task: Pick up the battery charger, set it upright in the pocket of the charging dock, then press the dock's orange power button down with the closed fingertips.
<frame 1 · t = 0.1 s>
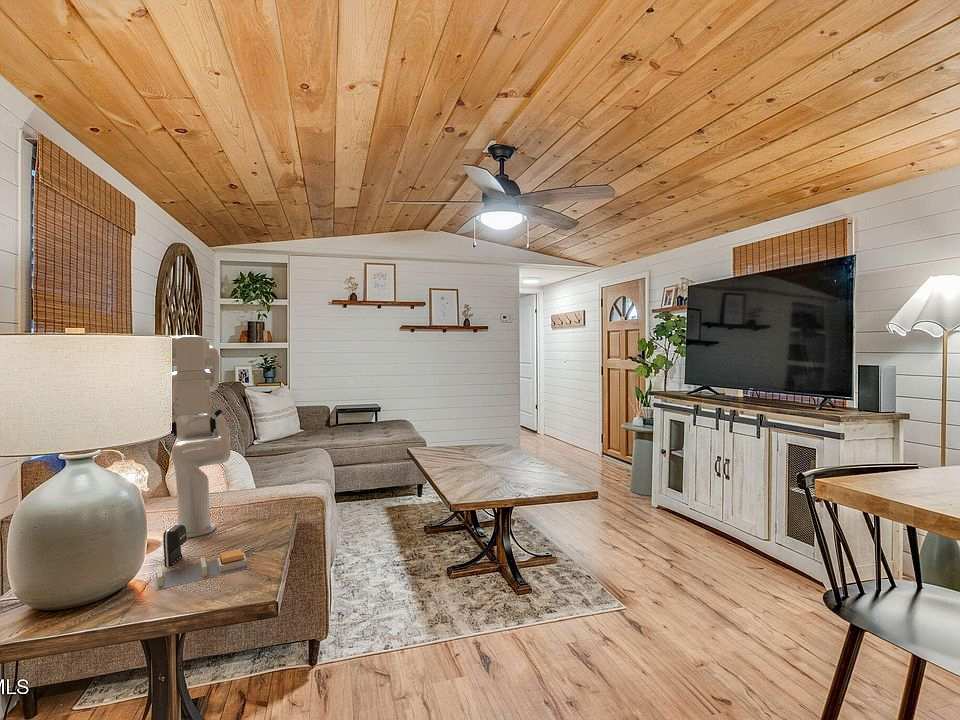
hand: (193, 433, 153), 37 cm above the table, tool pointing down, fingers open, 9 cm apart
charging dock: (203, 576, 139), on the table
battery charger: (177, 567, 146), on the table
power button: (231, 555, 142), point 4 cm above the table, slide at 0.0 cm
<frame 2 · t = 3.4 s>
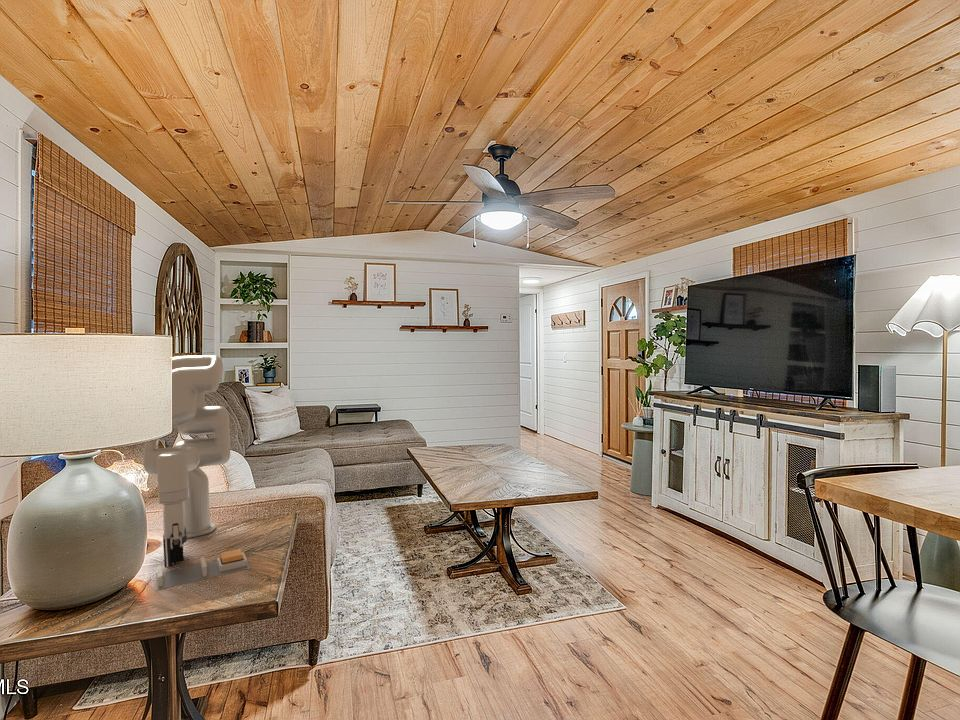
hand: (176, 556, 146), 3 cm above the table, tool pointing down, fingers closed on battery charger, 7 cm apart
battery charger: (177, 567, 146), on the table, touching gripper
everything else where it was.
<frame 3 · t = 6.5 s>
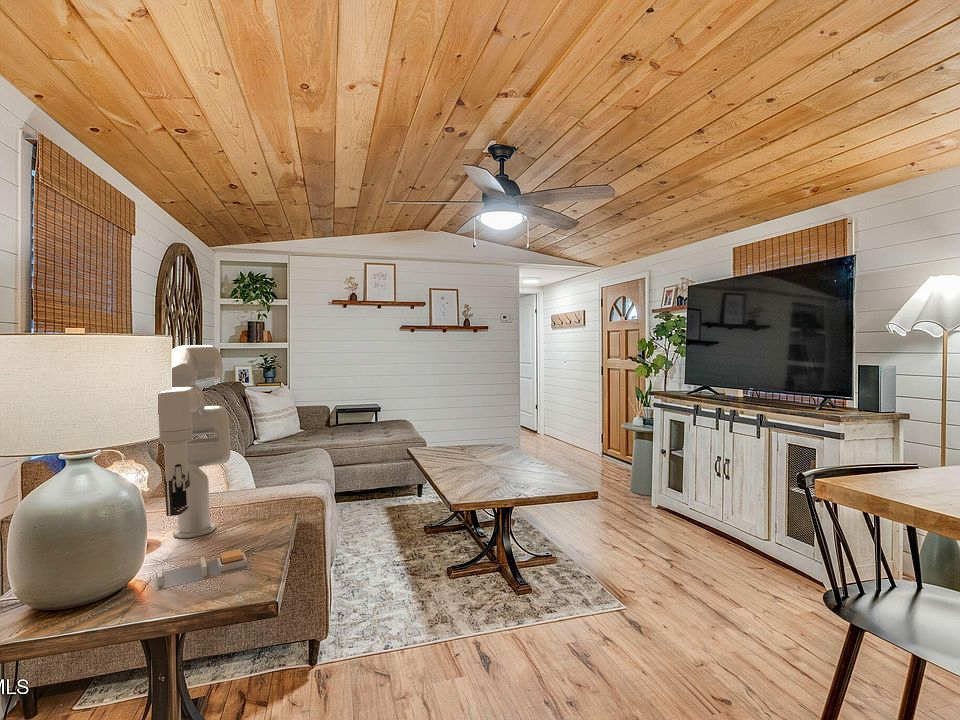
hand: (179, 502, 136), 21 cm above the table, tool pointing down, fingers closed on battery charger, 7 cm apart
battery charger: (179, 513, 135), point 18 cm above the table, touching gripper
everything else where it was.
when the fingers open (6 cm above the table, at t = 9.7 s): battery charger drops 2 cm, resting on charging dock.
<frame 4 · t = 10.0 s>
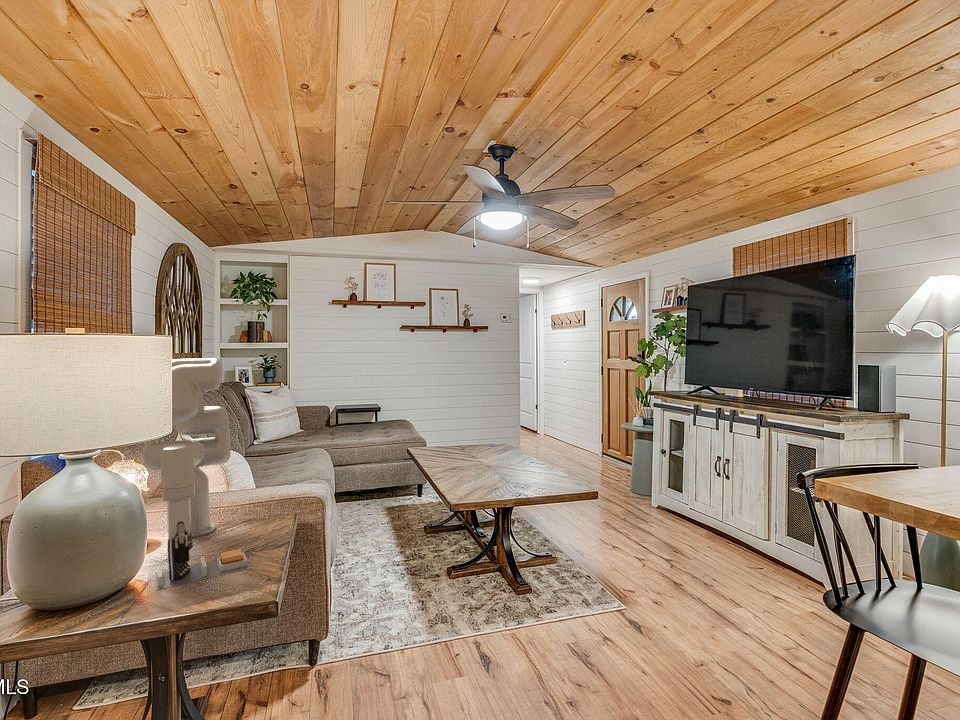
hand: (181, 556, 136), 7 cm above the table, tool pointing down, fingers open, 9 cm apart
battery charger: (182, 576, 136), point 1 cm above the table, touching charging dock
everything else where it was.
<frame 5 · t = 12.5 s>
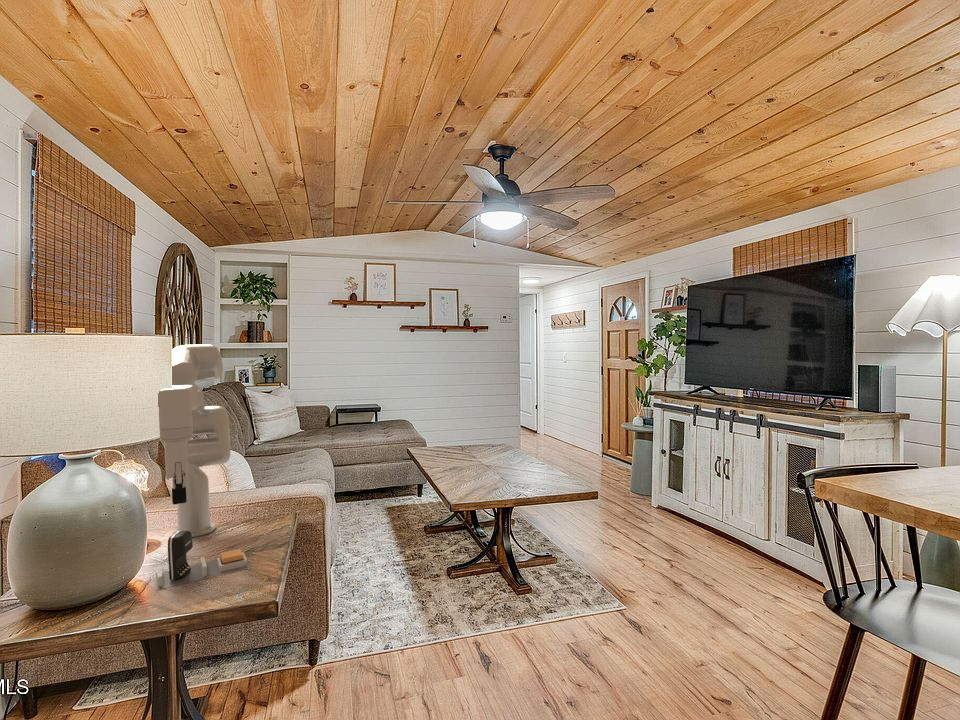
hand: (179, 502, 136), 21 cm above the table, tool pointing down, fingers closed
nothing on the table moved.
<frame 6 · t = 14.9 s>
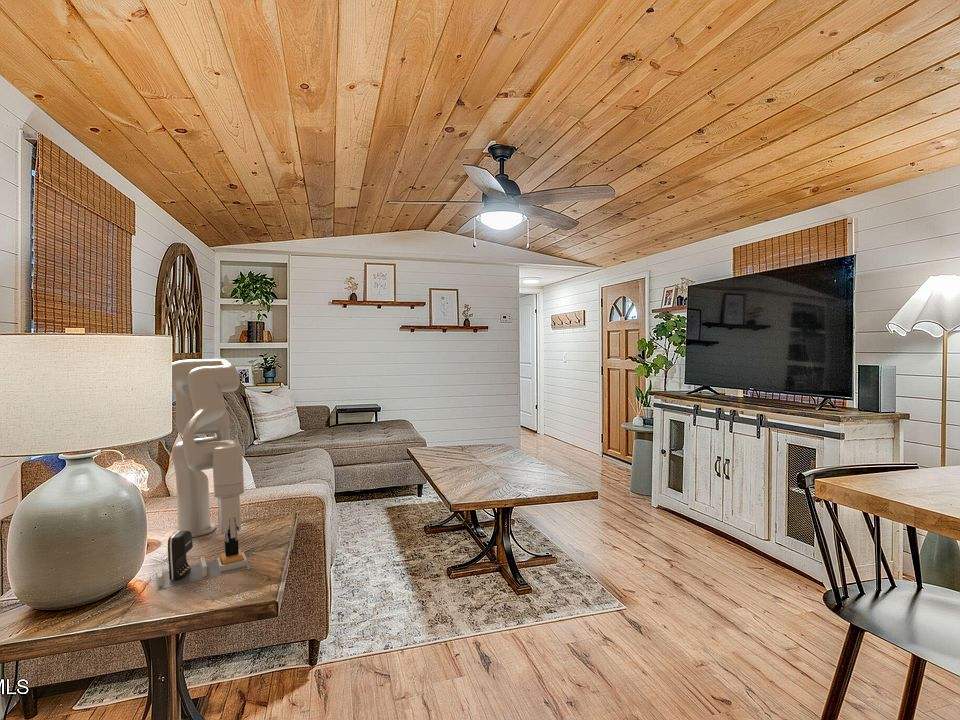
hand: (232, 554, 142), 4 cm above the table, tool pointing down, fingers closed
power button: (231, 556, 142), point 4 cm above the table, slide at 0.2 cm, touching gripper
everything else where it was.
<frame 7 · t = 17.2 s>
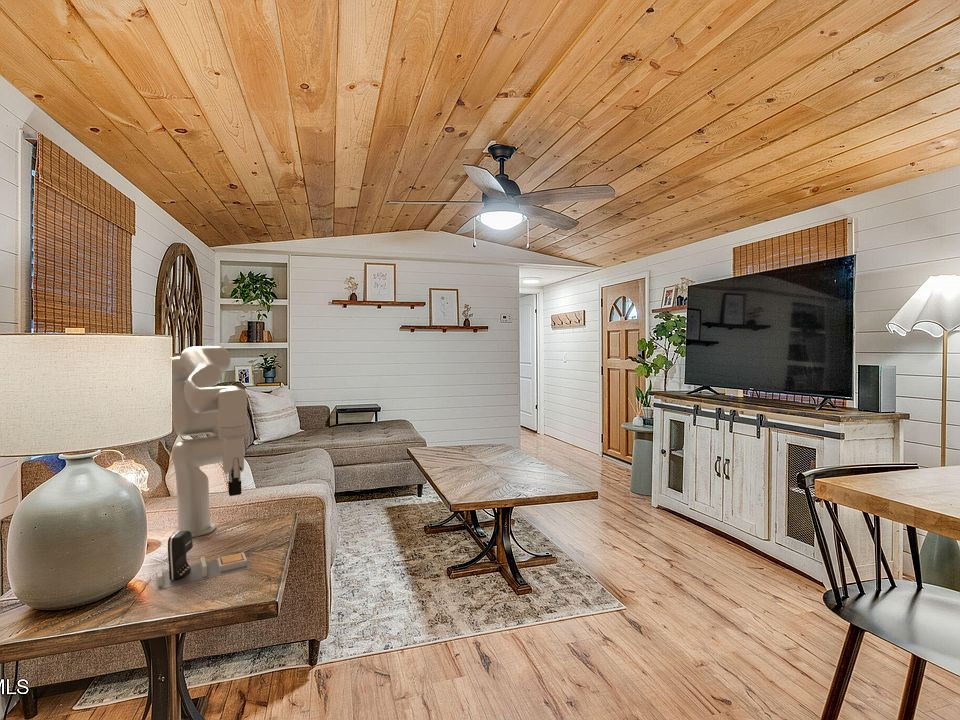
hand: (235, 494, 147), 20 cm above the table, tool pointing down, fingers closed
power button: (232, 560, 142), point 3 cm above the table, slide at 1.3 cm
everything else where it was.
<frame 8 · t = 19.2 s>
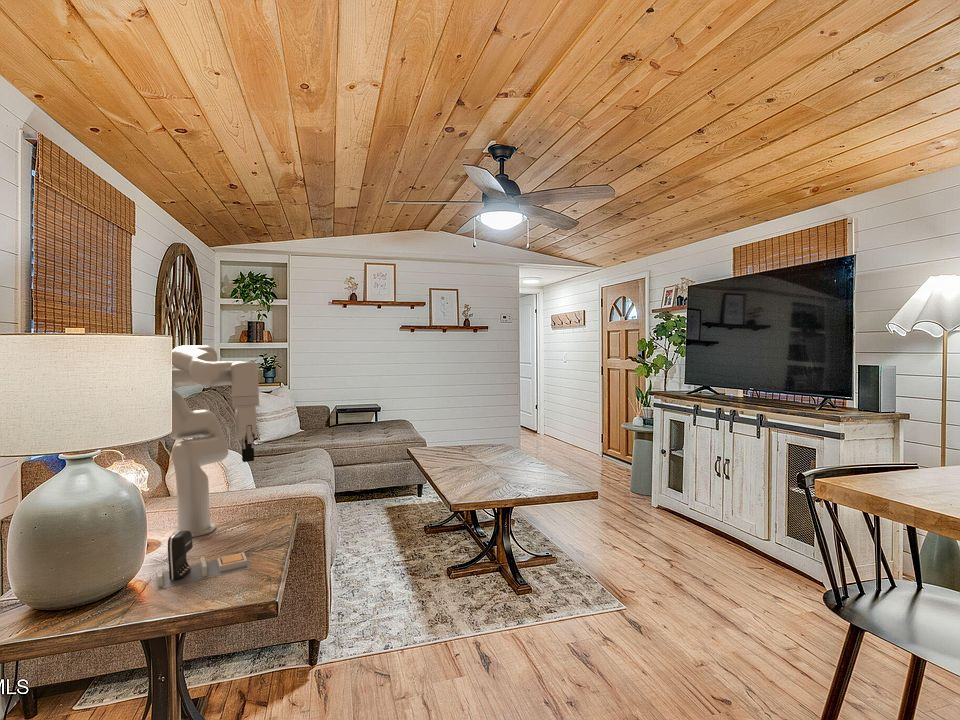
hand: (248, 460, 157), 27 cm above the table, tool pointing down, fingers closed
nothing on the table moved.
at the end: battery charger 0.2 cm from the target spot on the charging dock, point 1.3 cm above the charging dock's base; battery charger tilted 0°; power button slide at 1.3 cm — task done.
